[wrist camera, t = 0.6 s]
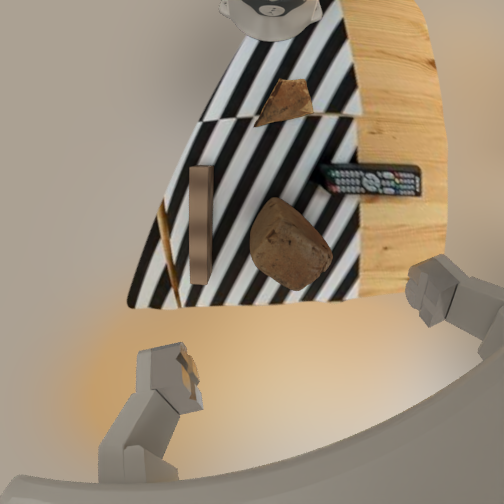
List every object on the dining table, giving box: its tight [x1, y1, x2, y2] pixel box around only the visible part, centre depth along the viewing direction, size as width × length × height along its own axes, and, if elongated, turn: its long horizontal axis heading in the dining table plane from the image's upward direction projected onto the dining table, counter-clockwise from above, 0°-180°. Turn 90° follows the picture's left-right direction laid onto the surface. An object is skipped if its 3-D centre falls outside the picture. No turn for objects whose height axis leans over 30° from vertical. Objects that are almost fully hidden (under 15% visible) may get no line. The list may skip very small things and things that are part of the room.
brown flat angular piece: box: [254, 79, 314, 127], centre depth 46 cm, size 11×8×2 cm
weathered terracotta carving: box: [250, 197, 333, 291], centre depth 45 cm, size 11×8×20 cm
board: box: [189, 165, 214, 285], centre depth 51 cm, size 20×3×6 cm, turn 177°
